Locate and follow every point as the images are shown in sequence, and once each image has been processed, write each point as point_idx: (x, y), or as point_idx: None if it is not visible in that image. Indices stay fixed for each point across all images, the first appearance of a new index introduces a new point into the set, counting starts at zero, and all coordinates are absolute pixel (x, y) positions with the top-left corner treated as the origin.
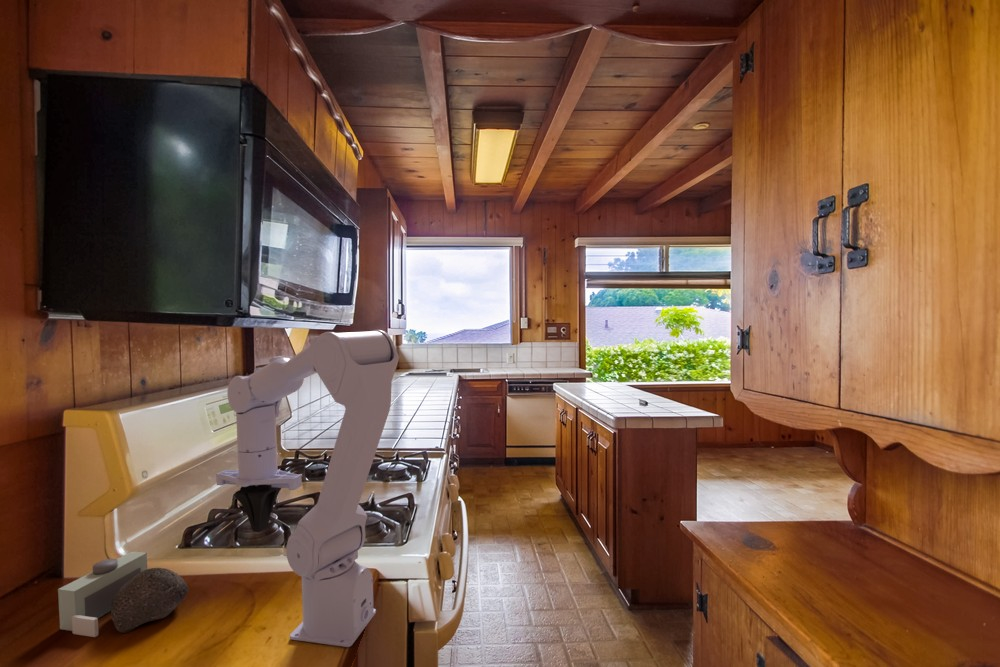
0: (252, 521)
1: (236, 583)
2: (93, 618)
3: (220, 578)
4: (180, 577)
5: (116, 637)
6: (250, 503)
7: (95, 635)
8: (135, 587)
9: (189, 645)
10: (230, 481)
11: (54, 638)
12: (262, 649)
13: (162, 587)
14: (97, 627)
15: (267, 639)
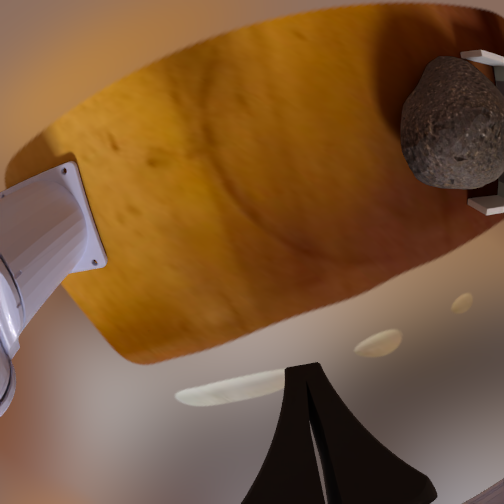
0: (318, 395)
1: (360, 261)
2: (485, 54)
3: (406, 262)
4: (446, 175)
5: (430, 53)
6: (334, 472)
7: (461, 52)
8: (485, 88)
9: (262, 58)
10: (491, 499)
11: (500, 50)
12: (99, 117)
13: (444, 114)
14: (470, 55)
15: (114, 141)
